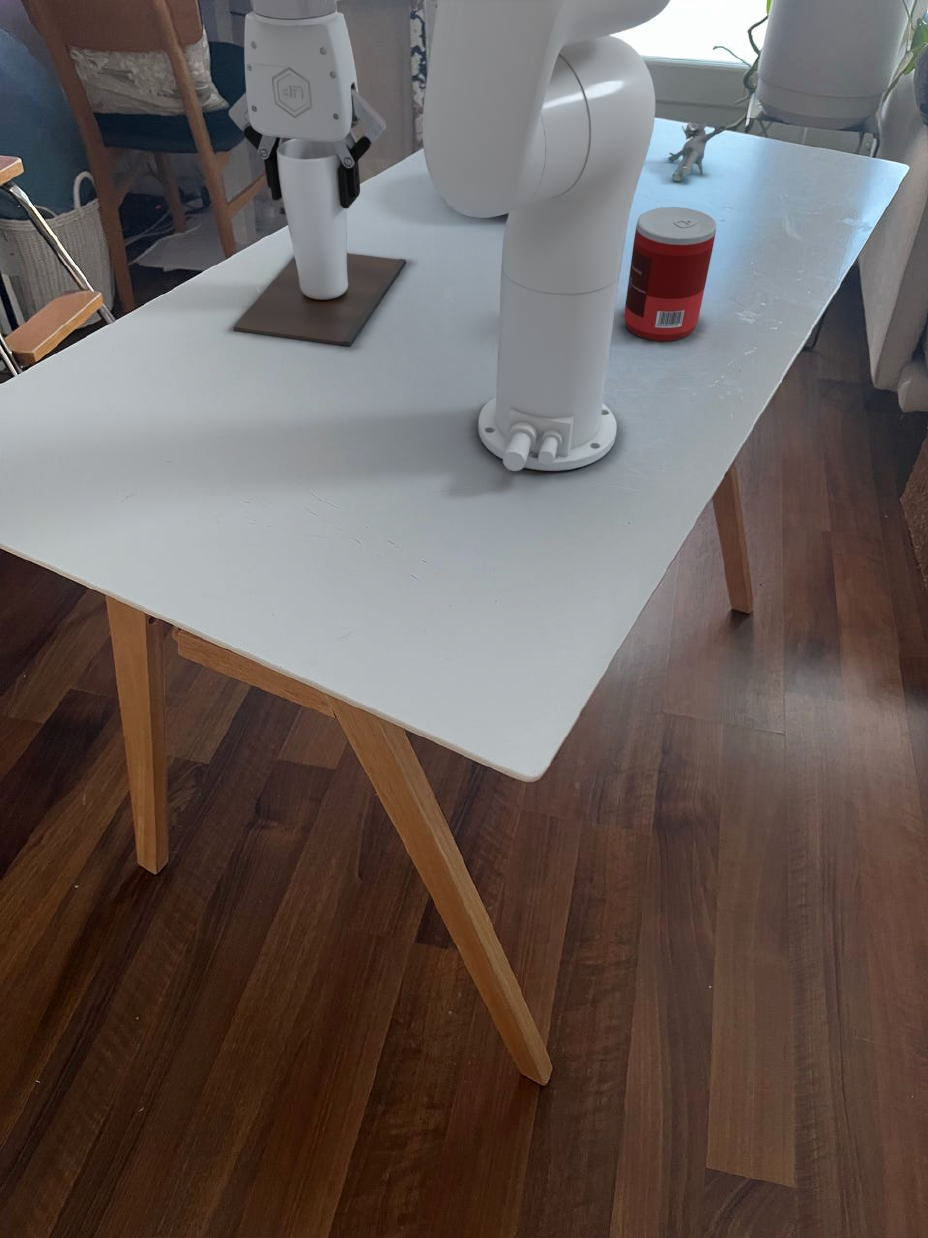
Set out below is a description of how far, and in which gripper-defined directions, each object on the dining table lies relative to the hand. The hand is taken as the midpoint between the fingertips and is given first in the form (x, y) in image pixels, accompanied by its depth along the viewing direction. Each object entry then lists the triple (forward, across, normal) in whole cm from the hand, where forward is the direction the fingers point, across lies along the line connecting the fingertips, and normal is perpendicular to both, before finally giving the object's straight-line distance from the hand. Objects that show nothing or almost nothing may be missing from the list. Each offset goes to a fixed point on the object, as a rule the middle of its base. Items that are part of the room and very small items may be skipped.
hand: (314, 197), depth 97 cm
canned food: (+11, +37, +3) cm, 39 cm away
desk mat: (+11, 0, 0) cm, 11 cm away
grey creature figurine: (+11, +37, +48) cm, 62 cm away
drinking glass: (+10, 0, 0) cm, 10 cm away
